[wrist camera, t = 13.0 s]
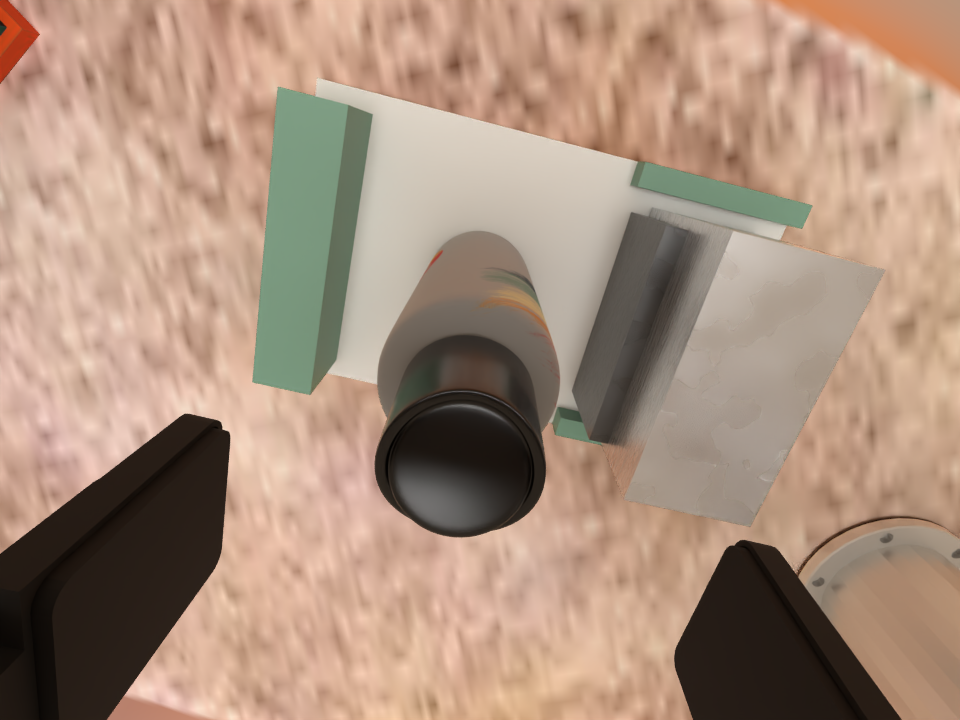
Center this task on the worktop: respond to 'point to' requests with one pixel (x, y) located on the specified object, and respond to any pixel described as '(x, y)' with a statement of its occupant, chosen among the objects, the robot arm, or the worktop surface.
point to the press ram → (712, 359)
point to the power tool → (13, 37)
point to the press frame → (446, 226)
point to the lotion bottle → (467, 392)
